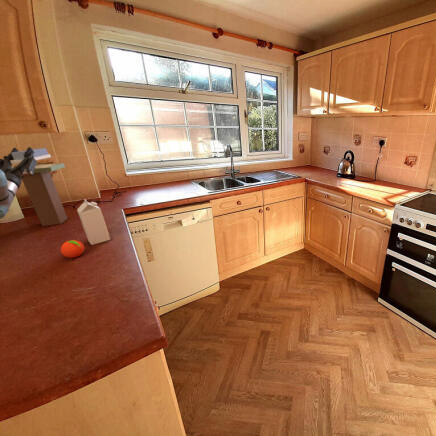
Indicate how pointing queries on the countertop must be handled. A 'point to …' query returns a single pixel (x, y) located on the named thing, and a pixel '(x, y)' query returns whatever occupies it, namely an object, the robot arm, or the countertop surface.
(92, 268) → the countertop surface
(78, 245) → the clementine
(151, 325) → the countertop surface
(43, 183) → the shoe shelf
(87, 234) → the milk carton
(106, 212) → the countertop surface
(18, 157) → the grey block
